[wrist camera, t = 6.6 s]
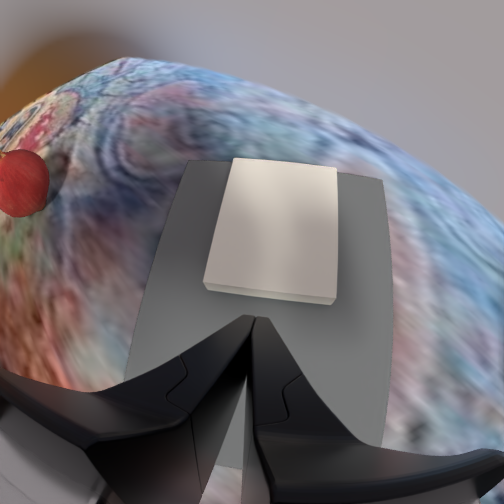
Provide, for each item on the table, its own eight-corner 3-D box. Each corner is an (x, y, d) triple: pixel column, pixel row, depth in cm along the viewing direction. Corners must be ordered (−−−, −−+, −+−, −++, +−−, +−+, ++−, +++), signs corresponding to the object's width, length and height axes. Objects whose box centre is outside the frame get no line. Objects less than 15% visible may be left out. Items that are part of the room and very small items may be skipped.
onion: (14, 235, 20) (-36, 187, 13) (34, 186, 22) (-6, 136, 15) (51, 232, 19) (-5, 174, 12) (72, 179, 22) (31, 118, 15)
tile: (336, 298, 14) (336, 168, 18) (202, 281, 15) (233, 157, 19) (329, 306, 15) (332, 183, 19) (208, 291, 16) (236, 173, 20)
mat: (372, 471, 11) (375, 473, 11) (118, 433, 13) (115, 434, 12) (380, 183, 20) (382, 179, 19) (189, 163, 21) (188, 160, 21)
